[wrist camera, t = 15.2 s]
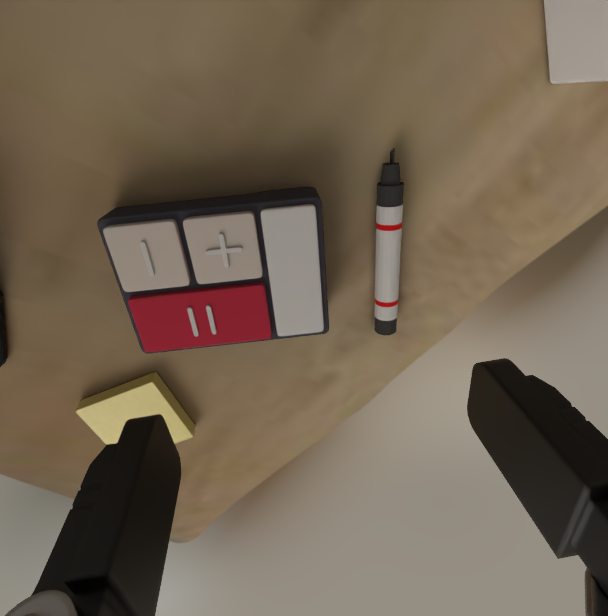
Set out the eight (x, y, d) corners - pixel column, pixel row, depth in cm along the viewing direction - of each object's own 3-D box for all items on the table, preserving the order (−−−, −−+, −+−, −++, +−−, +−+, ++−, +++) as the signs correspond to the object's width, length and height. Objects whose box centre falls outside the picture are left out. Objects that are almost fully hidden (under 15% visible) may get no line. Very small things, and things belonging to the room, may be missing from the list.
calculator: (89, 222, 24) (322, 198, 25) (113, 206, 28) (315, 185, 28) (139, 360, 29) (331, 339, 30) (154, 331, 33) (324, 312, 34)
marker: (392, 322, 35) (399, 333, 34) (371, 325, 35) (378, 336, 33) (400, 145, 28) (410, 147, 26) (374, 147, 28) (382, 150, 26)
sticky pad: (80, 399, 35) (74, 411, 34) (156, 370, 34) (152, 381, 33) (127, 450, 39) (123, 463, 37) (195, 425, 38) (193, 437, 37)
